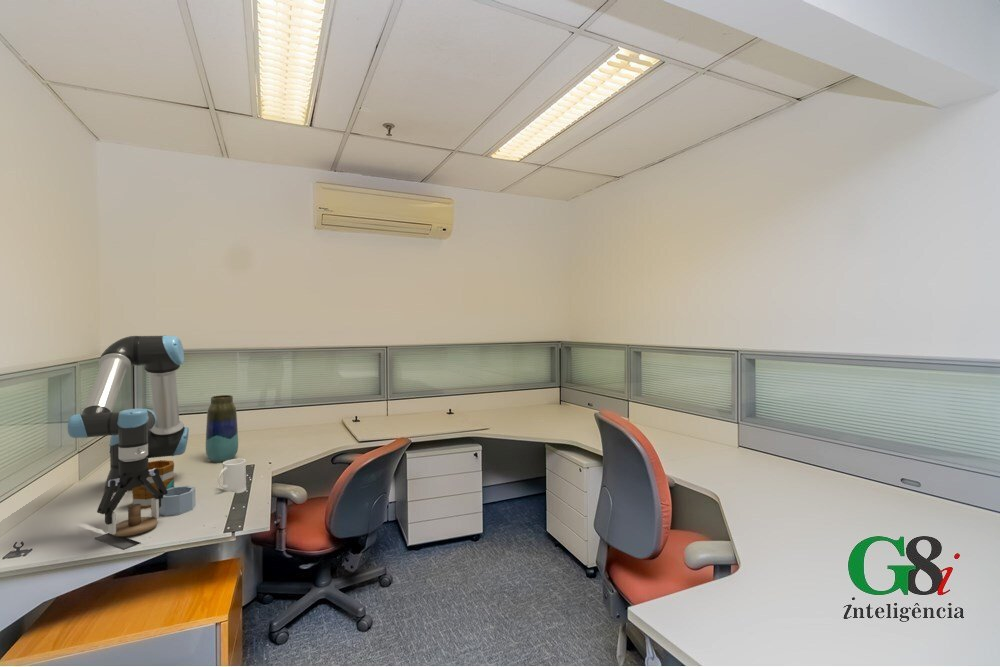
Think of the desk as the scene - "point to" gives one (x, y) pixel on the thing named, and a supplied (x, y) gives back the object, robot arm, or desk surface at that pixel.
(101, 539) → the mat
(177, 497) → the bowl
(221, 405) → the vase
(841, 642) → the desk surface
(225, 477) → the mug
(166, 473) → the mug
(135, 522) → the lid
